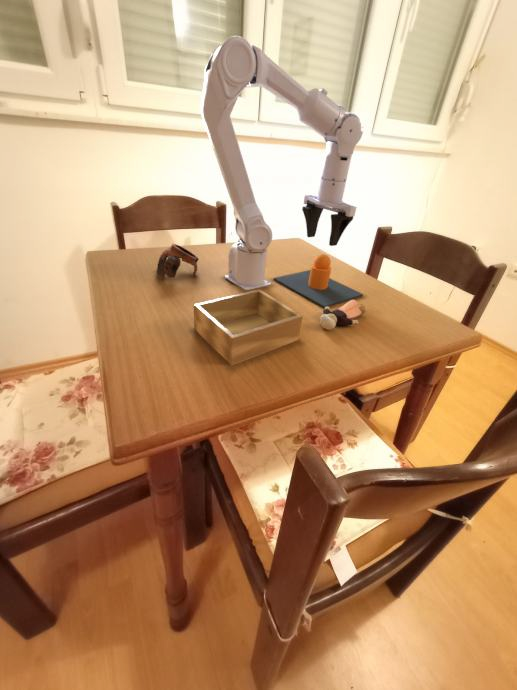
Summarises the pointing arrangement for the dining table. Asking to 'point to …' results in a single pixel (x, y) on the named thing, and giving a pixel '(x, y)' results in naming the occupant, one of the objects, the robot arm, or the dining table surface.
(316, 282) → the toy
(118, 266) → the dining table surface
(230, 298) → the wooden box
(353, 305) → the grandmother figurine
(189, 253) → the brown piece
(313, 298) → the mat
